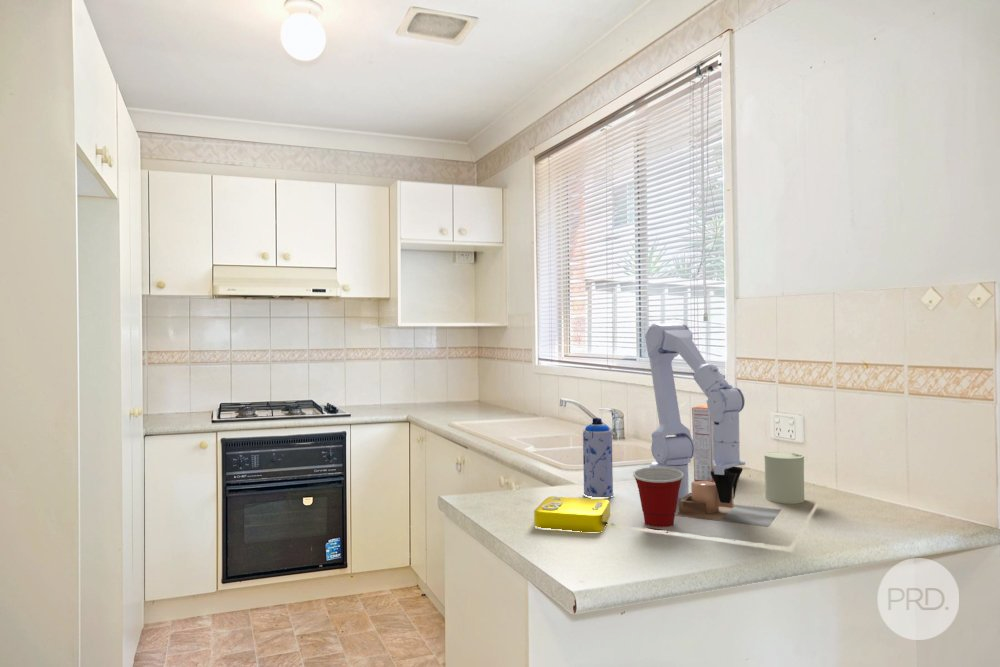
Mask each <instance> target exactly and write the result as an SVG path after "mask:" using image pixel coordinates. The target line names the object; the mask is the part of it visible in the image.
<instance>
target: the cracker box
mask: <svg viewBox="0 0 1000 667" xmlns="http://www.w3.org/2000/svg"><path fill="white" fill-rule="evenodd" d="M691 415H692V416H691V417H692V418H691V420H692V439H693V441H694V444H695V454H694V456H693V479H694V482H696V481H710V482H714V480H713V478H712V476H711V471H712V470H714V465H713V421H712V420H711V416H710V411H709V409H708V406H707V402H706V403H703V404H700V405H697V406H692V407H691Z"/></svg>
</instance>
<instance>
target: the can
mask: <svg viewBox="0 0 1000 667" xmlns="http://www.w3.org/2000/svg"><path fill="white" fill-rule="evenodd" d="M763 456H764V459H763V460H764V484H765V485H764V498H765V500H767V501H769V502H772V503H778V504H786V505H787V504H789V505H790V504H801V503H804V502H805V500H806V499H805V455H804V454H802V453H797V452H796V453H795V452H791V451H790V452H788V451H786V452H785V451H771V452H765V453H764V454H763Z"/></svg>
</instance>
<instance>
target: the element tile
mask: <svg viewBox="0 0 1000 667" xmlns="http://www.w3.org/2000/svg"><path fill="white" fill-rule="evenodd" d="M533 514H534V516H533V519H534V525H535V526H537V527H541V528H551V529H562V530H572V531H580V532H581V531H582V532H601V531H603V530H604V531H605V529H606V527H607V525H606V524H608V523H607V522H608V520H609V518H610V516H611V502H610V500H608V499H591V498H586V497H572V496H571V497H570V496H569V497H568V496H548V497H546V498H545V499H544V500H543V501H542V502H541V503H540V504H539V505H538V506H537V507H536V508H535V509H534V510H533ZM534 525H533V526H534ZM605 526H606V527H605ZM604 528H605V529H604ZM604 531H603V532H604Z"/></svg>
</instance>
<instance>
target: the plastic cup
mask: <svg viewBox="0 0 1000 667" xmlns="http://www.w3.org/2000/svg"><path fill="white" fill-rule="evenodd" d="M632 477H633V478H634V479H635V482H636V485H637V488H638V493H639V498H640V499H639V500H640V504H641V510H642V511H641V512H642V514H643V518H644V524H645V525H646V526H649V527H648V529H650V530H654V531H664V529H661V528H668V527H672V526H673V525H674V523H675V518H676V517H675V515H676V514H677V513H676V512H677V504H678V501H679V500H678V493H679V489H680V484H681V480H682V478H683V477H684V474H683V472H681V471H680V470H677V469H673V468H666V467H650V466H649V467H641V468H639V469H636V470H634V471H633V472H632Z"/></svg>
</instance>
